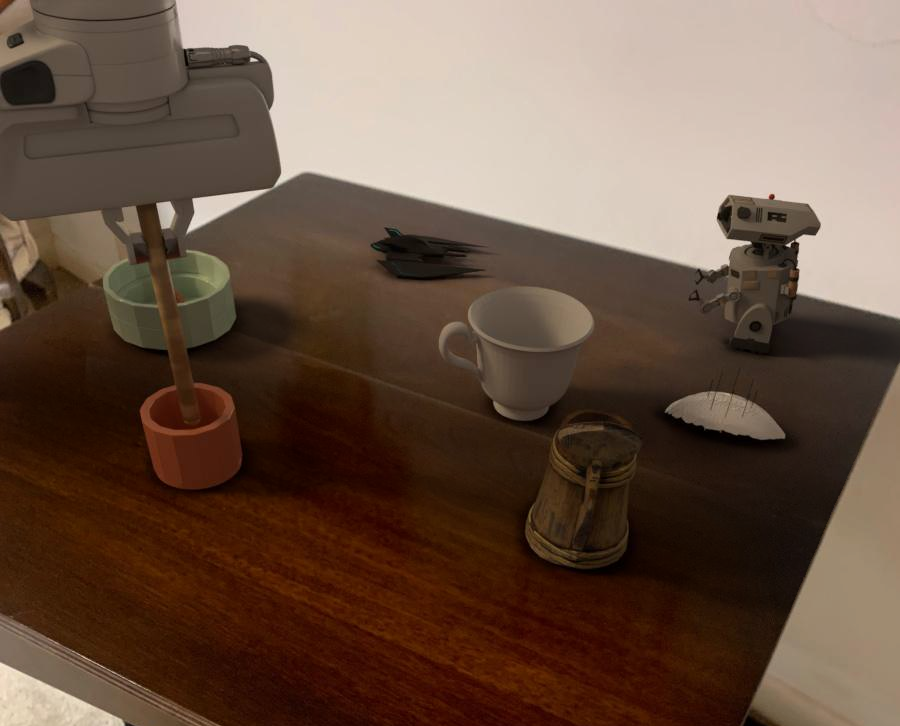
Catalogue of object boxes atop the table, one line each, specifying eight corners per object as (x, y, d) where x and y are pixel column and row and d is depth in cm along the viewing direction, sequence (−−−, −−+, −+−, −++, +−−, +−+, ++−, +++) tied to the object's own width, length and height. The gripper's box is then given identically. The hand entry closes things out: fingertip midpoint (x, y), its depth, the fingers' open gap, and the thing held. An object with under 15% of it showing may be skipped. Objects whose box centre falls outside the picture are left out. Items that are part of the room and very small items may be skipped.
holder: (141, 485, 80) (126, 430, 75) (170, 432, 85) (158, 378, 81) (228, 494, 79) (218, 440, 75) (252, 440, 85) (244, 386, 81)
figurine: (685, 304, 107) (717, 176, 97) (781, 320, 106) (825, 192, 95) (677, 341, 101) (711, 209, 90) (780, 359, 99) (826, 226, 89)
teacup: (424, 381, 93) (426, 292, 86) (557, 368, 96) (570, 281, 89) (450, 449, 85) (455, 357, 78) (595, 433, 88) (613, 343, 81)
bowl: (96, 348, 95) (83, 300, 91) (139, 290, 104) (129, 244, 100) (216, 360, 94) (208, 312, 90) (249, 300, 104) (243, 254, 100)
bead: (170, 310, 101) (150, 294, 98) (189, 295, 100) (169, 278, 97) (173, 327, 99) (152, 311, 97) (193, 312, 98) (173, 295, 96)
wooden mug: (511, 600, 72) (536, 414, 59) (531, 495, 81) (556, 314, 68) (620, 618, 71) (671, 433, 58) (628, 510, 80) (673, 330, 67)
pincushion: (786, 425, 90) (804, 377, 86) (779, 459, 86) (798, 410, 82) (670, 398, 93) (682, 350, 89) (658, 429, 89) (671, 381, 85)
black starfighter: (377, 235, 117) (377, 213, 115) (490, 245, 116) (492, 223, 114) (363, 274, 109) (362, 251, 107) (484, 285, 108) (485, 262, 106)
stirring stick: (182, 429, 77) (128, 186, 64) (186, 420, 78) (134, 180, 65) (199, 429, 77) (148, 187, 64) (203, 420, 78) (154, 180, 65)
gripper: (257, 30, 63) (276, 223, 73) (-54, 52, 57) (14, 259, 67) (282, 55, 59) (299, 255, 69) (-49, 82, 53) (22, 298, 63)
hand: (157, 258), depth 68 cm, fingers closed on stirring stick, 1 cm apart
